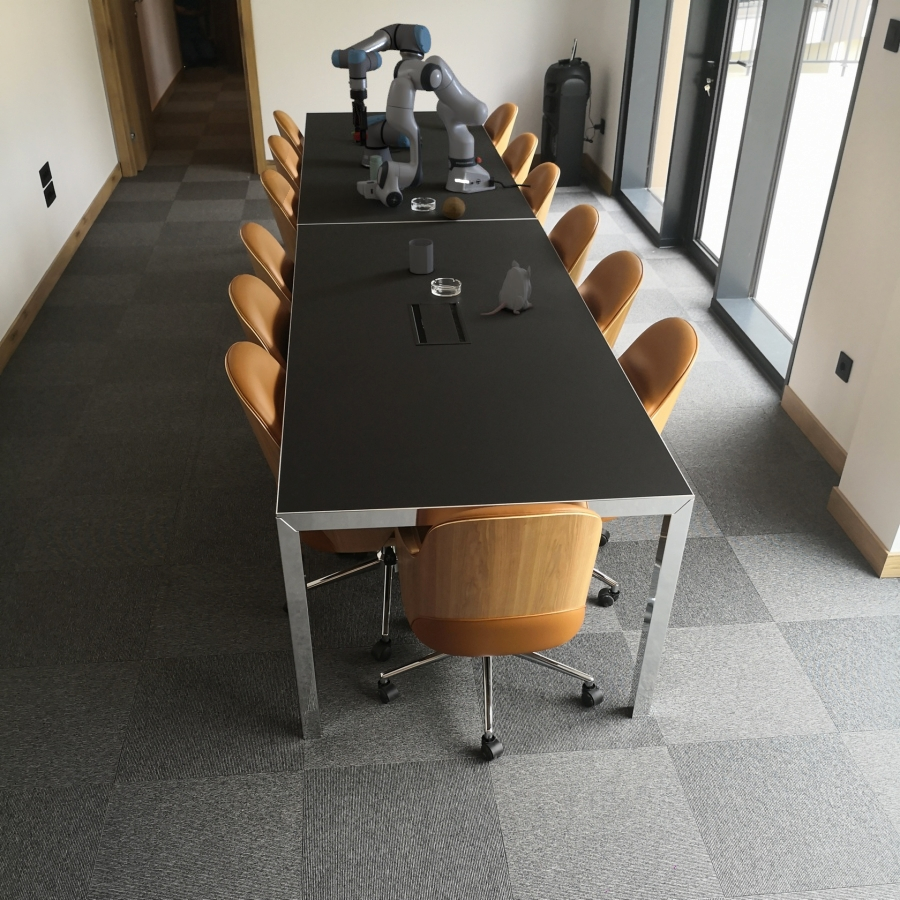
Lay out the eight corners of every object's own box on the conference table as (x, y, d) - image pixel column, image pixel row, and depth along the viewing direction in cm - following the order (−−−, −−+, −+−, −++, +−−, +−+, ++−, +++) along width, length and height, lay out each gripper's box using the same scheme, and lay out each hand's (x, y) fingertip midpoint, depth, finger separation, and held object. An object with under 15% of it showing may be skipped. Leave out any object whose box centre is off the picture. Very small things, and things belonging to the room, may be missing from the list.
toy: (538, 306, 281) (541, 262, 273) (491, 329, 266) (492, 282, 258) (517, 299, 286) (519, 255, 278) (469, 320, 271) (470, 275, 263)
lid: (367, 137, 389) (367, 131, 388) (368, 140, 384) (368, 134, 383) (353, 137, 388) (353, 132, 387) (354, 140, 383) (353, 135, 382)
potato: (463, 212, 364) (464, 193, 359) (466, 223, 352) (466, 203, 348) (440, 212, 363) (440, 193, 359) (442, 223, 351) (442, 204, 347)
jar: (384, 194, 386) (382, 155, 377) (383, 197, 382) (381, 158, 373) (371, 194, 387) (369, 155, 377) (370, 197, 382) (368, 158, 373)
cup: (409, 265, 311) (408, 238, 306) (432, 265, 312) (431, 238, 307) (410, 274, 304) (409, 246, 299) (433, 273, 305) (433, 246, 299)
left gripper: (343, 85, 381) (346, 140, 393) (357, 93, 366) (359, 149, 379) (359, 84, 384) (362, 138, 396) (373, 92, 369) (376, 148, 381)
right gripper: (407, 179, 371) (398, 171, 382) (361, 184, 366) (353, 175, 377) (408, 194, 375) (399, 186, 386) (361, 198, 369) (354, 190, 380)
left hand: (361, 144), depth 387 cm, fingers closed on lid, 6 cm apart
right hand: (376, 180), depth 381 cm, fingers closed on jar, 5 cm apart
